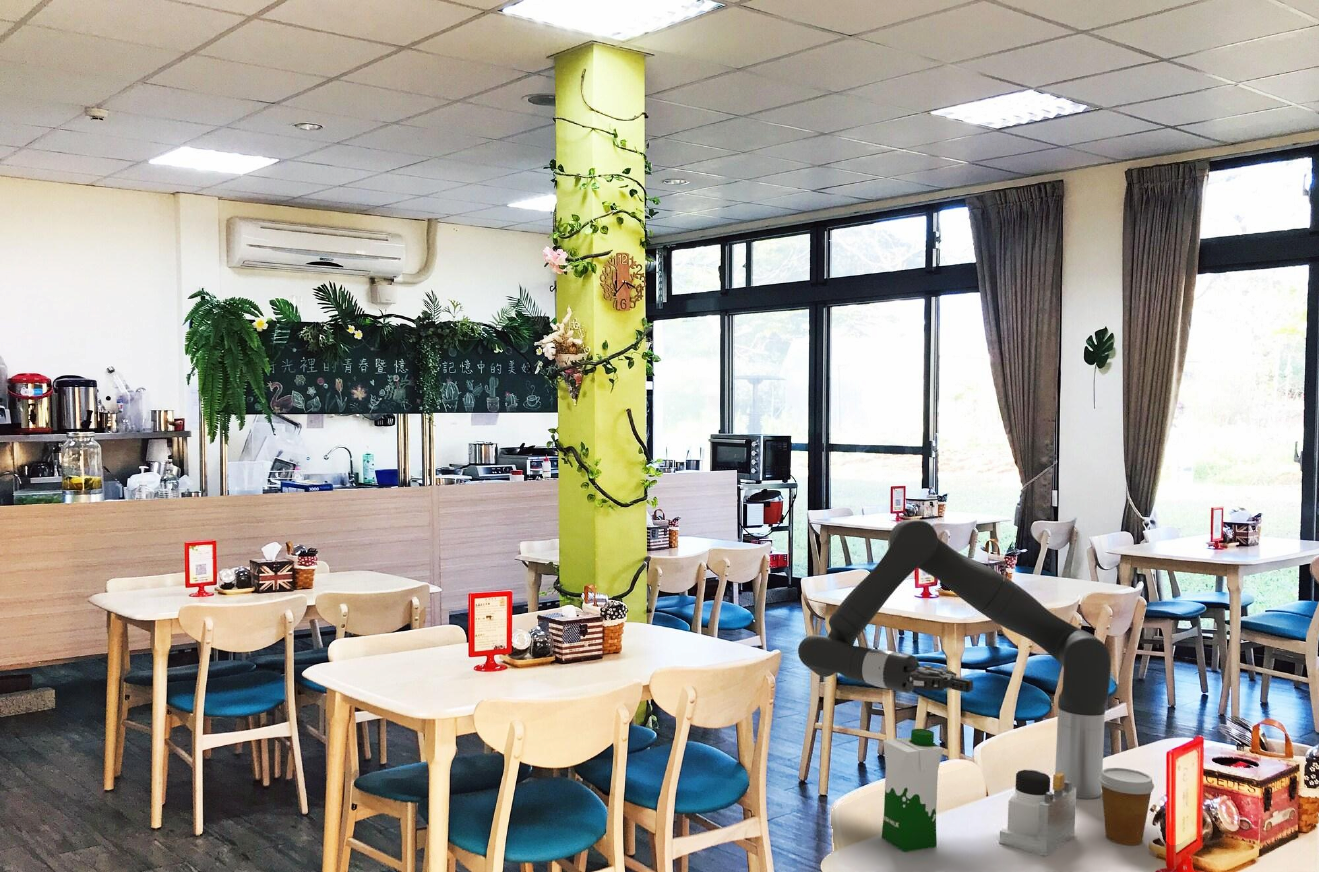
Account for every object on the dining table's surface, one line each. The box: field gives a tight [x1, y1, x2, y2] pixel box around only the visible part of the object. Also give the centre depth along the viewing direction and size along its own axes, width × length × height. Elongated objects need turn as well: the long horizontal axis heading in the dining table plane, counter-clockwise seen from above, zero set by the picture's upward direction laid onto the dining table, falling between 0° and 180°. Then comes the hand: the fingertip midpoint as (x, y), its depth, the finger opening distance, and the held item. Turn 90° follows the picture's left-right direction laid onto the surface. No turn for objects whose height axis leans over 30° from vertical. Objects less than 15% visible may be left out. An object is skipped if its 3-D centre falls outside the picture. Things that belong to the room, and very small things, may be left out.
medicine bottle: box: [1006, 769, 1051, 838], centre depth 208 cm, size 7×7×12 cm
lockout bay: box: [999, 772, 1077, 857], centre depth 207 cm, size 14×9×13 cm, turn 140°
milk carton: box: [881, 728, 944, 853], centre depth 203 cm, size 9×9×20 cm
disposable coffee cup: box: [1099, 767, 1155, 846], centre depth 209 cm, size 10×10×12 cm
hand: (971, 686), depth 216 cm, fingers closed
